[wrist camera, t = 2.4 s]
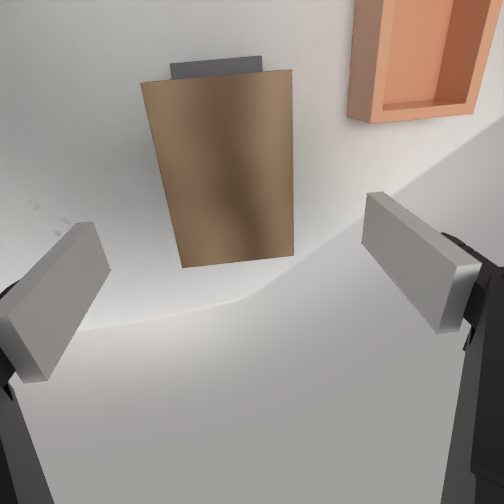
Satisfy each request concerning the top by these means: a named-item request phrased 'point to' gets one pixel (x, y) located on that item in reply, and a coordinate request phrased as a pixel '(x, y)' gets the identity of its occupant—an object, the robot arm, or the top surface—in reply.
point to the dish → (418, 57)
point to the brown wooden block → (226, 164)
